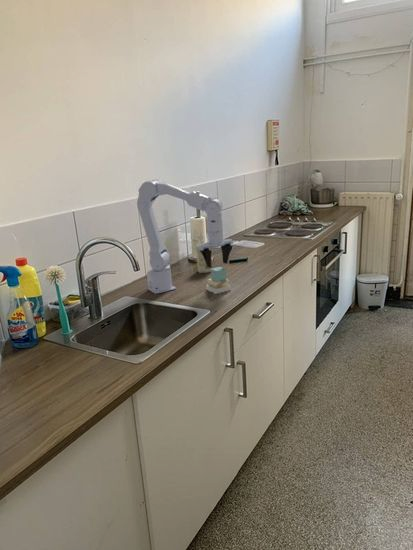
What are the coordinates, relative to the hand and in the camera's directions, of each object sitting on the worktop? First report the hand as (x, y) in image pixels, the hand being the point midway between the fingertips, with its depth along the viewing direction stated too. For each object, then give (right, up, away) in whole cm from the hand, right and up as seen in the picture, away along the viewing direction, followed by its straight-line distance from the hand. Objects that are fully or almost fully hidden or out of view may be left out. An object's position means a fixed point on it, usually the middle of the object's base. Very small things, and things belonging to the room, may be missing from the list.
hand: (217, 264), depth 164 cm
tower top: (+1, -8, +2) cm, 9 cm away
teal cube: (+1, -6, +2) cm, 6 cm away
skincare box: (-5, -2, +29) cm, 29 cm away
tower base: (+1, -10, +3) cm, 11 cm away
